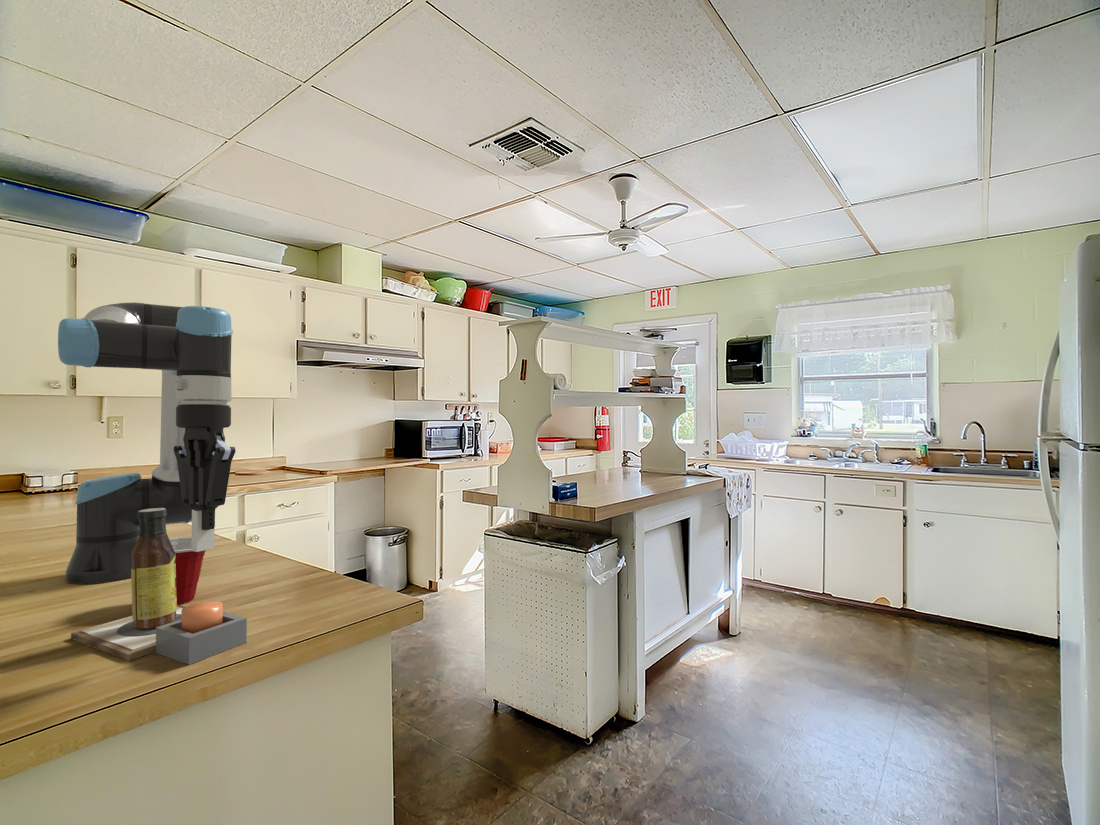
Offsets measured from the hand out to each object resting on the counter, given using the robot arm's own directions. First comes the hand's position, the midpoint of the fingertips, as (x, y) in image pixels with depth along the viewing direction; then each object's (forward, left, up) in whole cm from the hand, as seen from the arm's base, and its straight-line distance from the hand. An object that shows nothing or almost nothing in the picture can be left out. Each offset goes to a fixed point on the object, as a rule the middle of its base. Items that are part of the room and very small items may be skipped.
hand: (203, 549), depth 87 cm
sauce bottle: (-14, 0, -15) cm, 20 cm away
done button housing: (0, 0, -16) cm, 16 cm away
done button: (0, 0, -13) cm, 13 cm away
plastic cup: (-27, +11, -16) cm, 33 cm away
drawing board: (-14, 0, -16) cm, 21 cm away
